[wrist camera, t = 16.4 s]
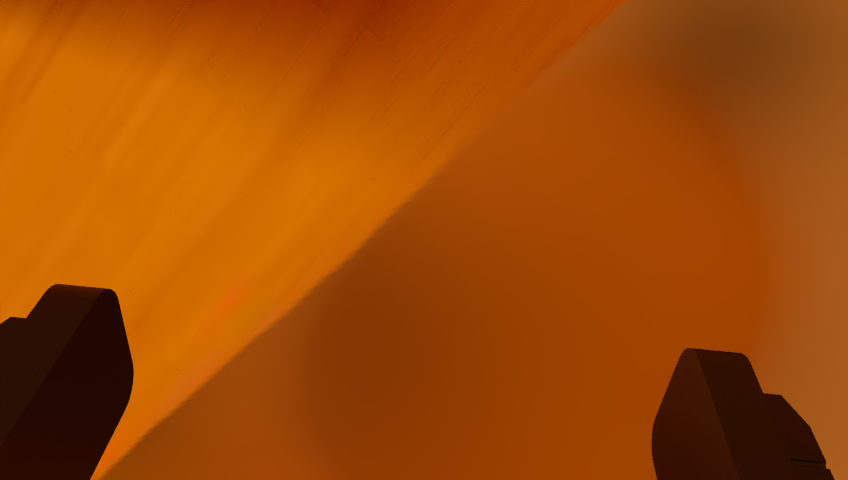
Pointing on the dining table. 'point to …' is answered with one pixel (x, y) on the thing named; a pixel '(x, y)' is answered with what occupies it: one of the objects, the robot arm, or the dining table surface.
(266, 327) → the dining table surface
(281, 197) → the dining table surface
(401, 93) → the dining table surface
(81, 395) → the robot arm
